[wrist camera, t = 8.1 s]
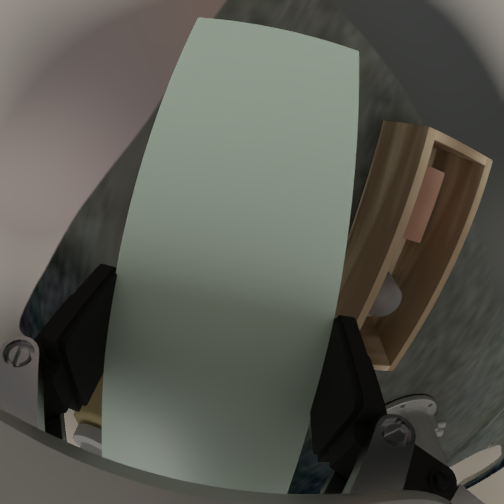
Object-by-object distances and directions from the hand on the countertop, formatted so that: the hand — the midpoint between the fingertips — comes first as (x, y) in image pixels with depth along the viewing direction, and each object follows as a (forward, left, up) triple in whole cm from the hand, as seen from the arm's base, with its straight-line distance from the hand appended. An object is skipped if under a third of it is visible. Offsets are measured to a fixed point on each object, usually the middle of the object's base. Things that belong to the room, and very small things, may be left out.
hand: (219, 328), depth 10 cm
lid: (0, -1, -3) cm, 3 cm away
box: (-12, 0, -17) cm, 21 cm away
